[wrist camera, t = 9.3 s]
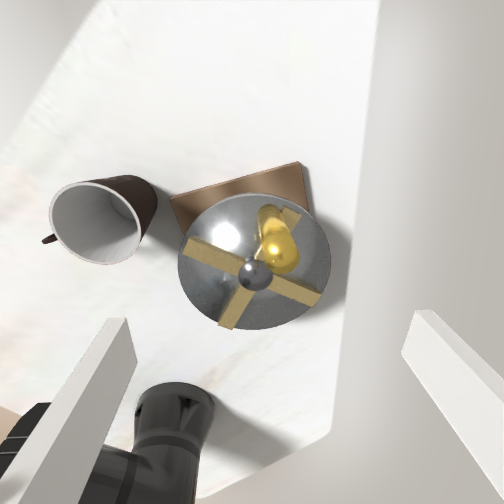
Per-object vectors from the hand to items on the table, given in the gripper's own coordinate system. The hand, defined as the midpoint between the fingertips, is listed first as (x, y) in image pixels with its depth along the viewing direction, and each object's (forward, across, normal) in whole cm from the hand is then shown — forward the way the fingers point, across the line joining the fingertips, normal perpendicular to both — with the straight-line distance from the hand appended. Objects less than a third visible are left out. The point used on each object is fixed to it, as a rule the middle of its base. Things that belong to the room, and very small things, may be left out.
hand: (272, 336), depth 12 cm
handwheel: (+19, 0, -7) cm, 21 cm away
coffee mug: (+26, -17, 0) cm, 31 cm away
